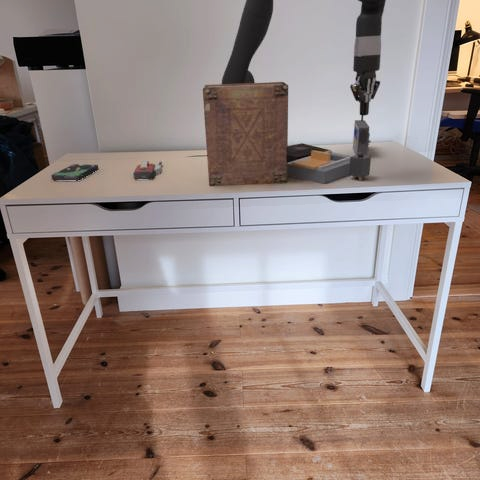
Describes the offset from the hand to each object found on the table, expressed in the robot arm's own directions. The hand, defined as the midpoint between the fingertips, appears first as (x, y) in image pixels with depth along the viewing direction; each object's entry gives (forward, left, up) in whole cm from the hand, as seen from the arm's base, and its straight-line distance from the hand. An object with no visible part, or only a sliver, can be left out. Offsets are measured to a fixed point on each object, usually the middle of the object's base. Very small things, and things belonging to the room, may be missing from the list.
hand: (363, 115), depth 134 cm
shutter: (-13, -8, -16) cm, 22 cm away
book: (-26, -25, -20) cm, 42 cm away
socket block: (-13, -1, -20) cm, 24 cm away
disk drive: (-78, -61, -21) cm, 101 cm away
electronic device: (-18, +30, -20) cm, 41 cm away
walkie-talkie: (-60, -42, -21) cm, 76 cm away
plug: (0, 0, -20) cm, 20 cm away
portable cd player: (-32, +8, -21) cm, 39 cm away
